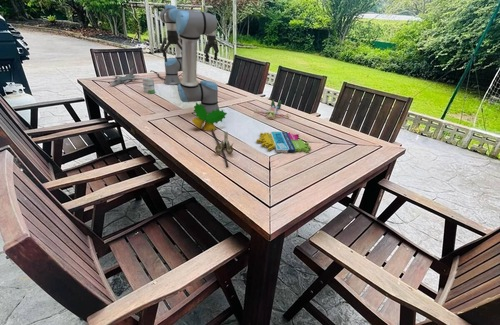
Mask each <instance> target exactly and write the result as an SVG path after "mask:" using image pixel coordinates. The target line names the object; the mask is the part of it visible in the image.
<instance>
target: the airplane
mask: <svg viewBox="0 0 500 325" xmlns="http://www.w3.org/2000/svg"><path fill="white" fill-rule="evenodd" d="M111 77H114V81H113V82H111V83H110V84H109V87H114V86H117V85H119V84H123V83H124V84H127V83H129V82H135V81H137V80H142V77H140V75H138V74H134V67H132V68H131V70H130V72H129V73H125V75H124V76H123V75H113V74H112V75H111ZM139 77H140V78H139Z"/></svg>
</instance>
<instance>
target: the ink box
mask: <svg viewBox="0 0 500 325" xmlns="http://www.w3.org/2000/svg"><path fill="white" fill-rule="evenodd" d="M141 78H142V77H141ZM141 80H142V87H143V93H147V94H150V95H151V94H155V93H156V90H155V82H154V78H149V77H143V78H142V79H141Z"/></svg>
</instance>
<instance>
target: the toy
mask: <svg viewBox="0 0 500 325" xmlns="http://www.w3.org/2000/svg"><path fill="white" fill-rule="evenodd" d="M281 107H282V100H280V99H279V101H278V102H277V104H276V103H275V99H272V100H271V103H270V108H268V110H267V111H264V110H260V111H259V110H258V109H257V108H256V109H255V110H252V111H253V114H263V115H265V118H267V119H269V120H273V119H276V116H278V117H284V118H287V119H290V117H291V115H290V114H289V113H287V114H282V113H280V112H277V111H278V110H280V109H281Z"/></svg>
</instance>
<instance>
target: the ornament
mask: <svg viewBox="0 0 500 325" xmlns="http://www.w3.org/2000/svg"><path fill="white" fill-rule="evenodd" d="M219 110H220V108H219V109H217V110H216V111H214V110H212V112H211V113H208V112H206V109H204V106H201V103H198V101H196V102H195V105H194V106H193V112H194V113H195V118H192V119H191V122H192V123H193V125H195V127H197V128H198V129H202V130H203V131H206V132H212V129H213V131H215V130H216V126H215V124H218V123H219V122H223V119H226V115H227V114H228V113H227V112H224V110H223V109H221V110H220V111H219ZM207 113H208V115H207ZM214 123H215V124H214Z"/></svg>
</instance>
